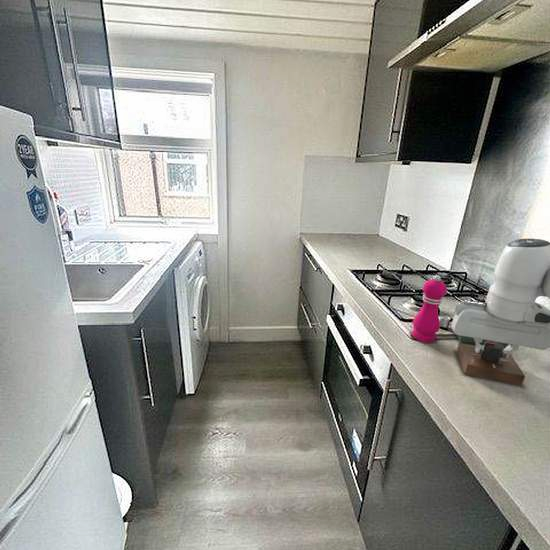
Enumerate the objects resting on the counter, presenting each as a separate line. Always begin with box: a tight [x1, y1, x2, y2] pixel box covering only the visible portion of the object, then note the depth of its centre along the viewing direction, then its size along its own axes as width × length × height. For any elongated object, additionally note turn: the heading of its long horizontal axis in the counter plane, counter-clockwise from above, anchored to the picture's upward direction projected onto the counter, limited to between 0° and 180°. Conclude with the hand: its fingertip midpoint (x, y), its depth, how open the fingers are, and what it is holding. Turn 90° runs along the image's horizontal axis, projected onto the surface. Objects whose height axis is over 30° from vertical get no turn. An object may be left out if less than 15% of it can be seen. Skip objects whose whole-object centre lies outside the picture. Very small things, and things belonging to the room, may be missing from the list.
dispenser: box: [456, 335, 509, 349], centre depth 91 cm, size 12×10×5 cm
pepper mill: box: [411, 274, 448, 343], centre depth 87 cm, size 7×7×20 cm
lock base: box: [456, 342, 526, 387], centre depth 78 cm, size 12×10×3 cm
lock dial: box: [481, 340, 504, 363], centre depth 76 cm, size 4×4×4 cm
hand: (490, 354), depth 77 cm, fingers closed on lock dial, 4 cm apart
